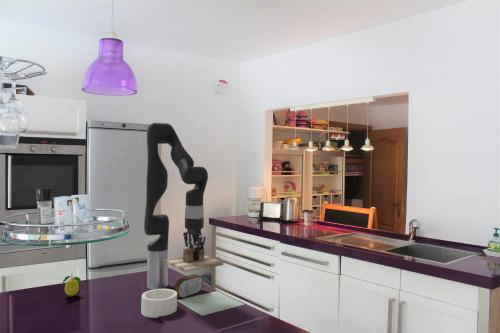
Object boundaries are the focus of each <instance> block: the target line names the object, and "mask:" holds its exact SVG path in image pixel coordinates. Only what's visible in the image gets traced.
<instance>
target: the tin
mask: <svg viewBox="0 0 500 333" xmlns="http://www.w3.org/2000/svg"><path fill="white" fill-rule="evenodd" d="M203 279H204V278H203V277H202V276H201V275H198V274H196V273H193V274H191V275H187V276H182V277H180V278H179V279H177V280H176V282H175V284H174V286H173V290H174V291H176V292H177V298H180V299H183V298H186V297H188V296H191V295H194V294H196V293H199V292H201V291H202V289H203V286H204V285H203V284H204V280H203Z"/></svg>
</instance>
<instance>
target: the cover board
mask: <svg viewBox="0 0 500 333" xmlns="http://www.w3.org/2000/svg"><path fill="white" fill-rule="evenodd" d="M200 247H201V246H200ZM193 251H194V249H193V248H188V247H186V248H183V250H182V254H183V255H182V256H179V257H173V258H172V257H171V258H168V259H165V263H167V264H168V266H171V267H173V268H176V269H178V270H180V271H182V272H184V273H189V272H194V271H201V270H205V269H210V268H211V269H212V268H215V267H221V266H224V261H222V260H219V259H216V258H214V257H211V256H209V255H206V254H205V247H204V246H203V250H200V251H199V260H197V261H194V260H193Z"/></svg>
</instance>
